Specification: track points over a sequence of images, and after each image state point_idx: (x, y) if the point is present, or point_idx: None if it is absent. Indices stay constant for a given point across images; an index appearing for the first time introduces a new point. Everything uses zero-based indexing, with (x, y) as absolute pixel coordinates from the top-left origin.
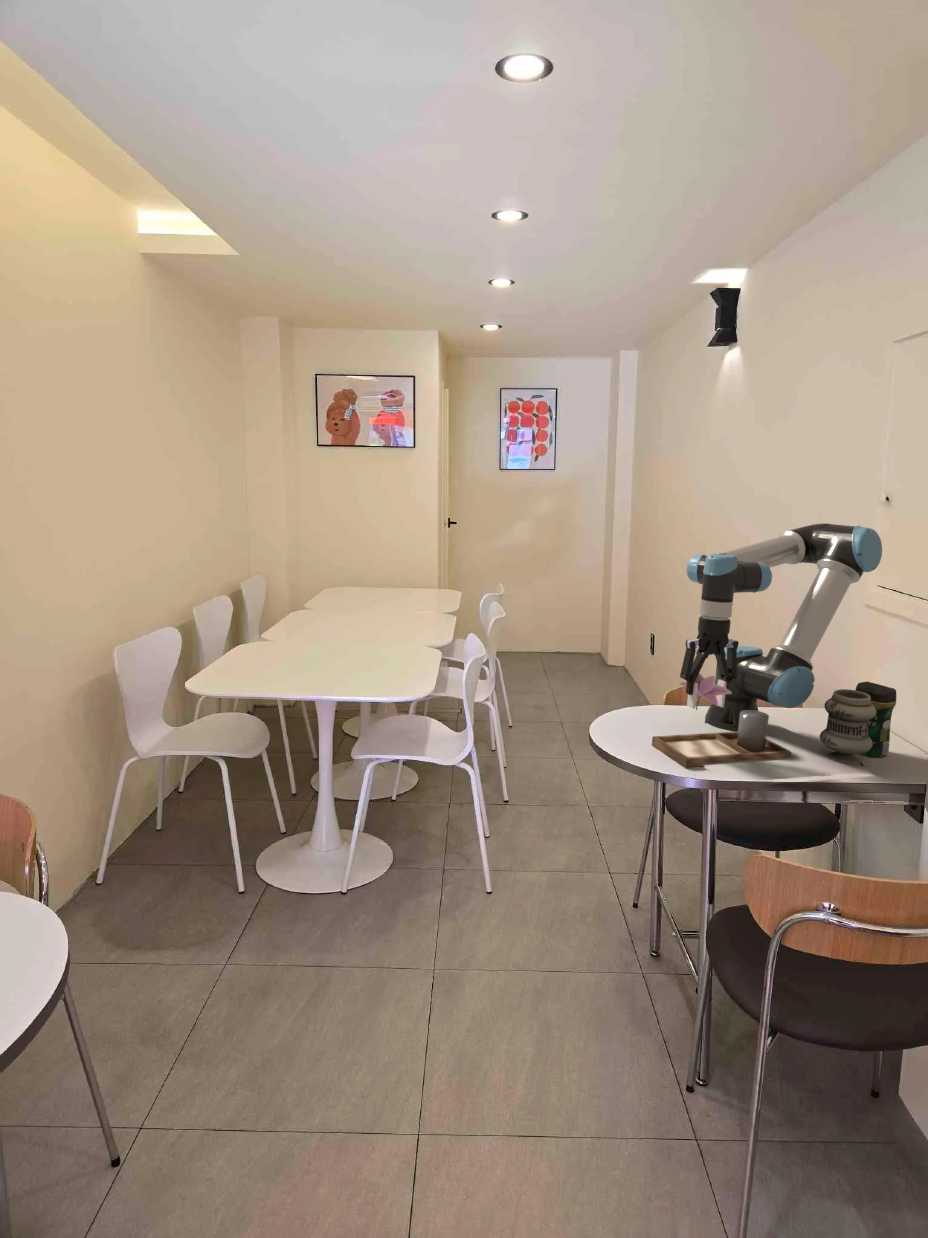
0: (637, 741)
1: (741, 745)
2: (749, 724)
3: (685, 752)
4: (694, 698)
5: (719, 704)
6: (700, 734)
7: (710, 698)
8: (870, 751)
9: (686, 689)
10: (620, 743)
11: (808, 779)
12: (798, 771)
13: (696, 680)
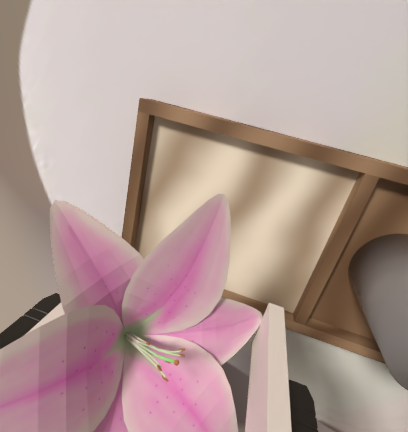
0: (133, 48)
1: (351, 272)
2: (376, 341)
3: (171, 214)
4: None
5: (256, 337)
6: (310, 152)
7: (216, 327)
8: None
9: (32, 312)
10: (76, 44)
11: (323, 411)
12: (352, 387)
13: (66, 371)
